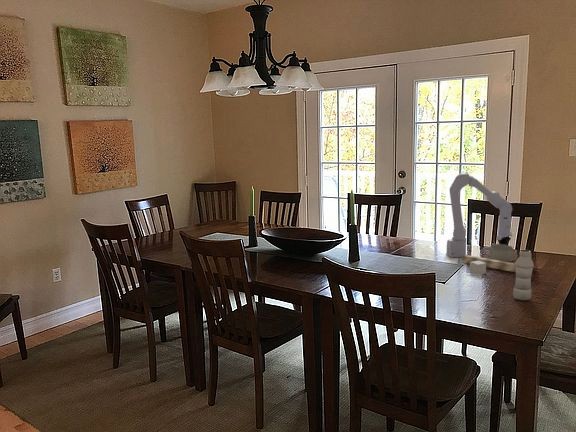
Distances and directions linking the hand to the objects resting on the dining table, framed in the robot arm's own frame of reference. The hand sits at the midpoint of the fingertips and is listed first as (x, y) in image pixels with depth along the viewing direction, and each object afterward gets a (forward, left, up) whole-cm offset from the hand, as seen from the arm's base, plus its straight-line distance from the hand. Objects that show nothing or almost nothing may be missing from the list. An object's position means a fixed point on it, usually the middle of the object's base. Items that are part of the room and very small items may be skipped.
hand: (503, 251), depth 247 cm
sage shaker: (+4, -16, -4) cm, 17 cm away
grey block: (-22, -22, -4) cm, 31 cm away
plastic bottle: (-19, -58, -4) cm, 61 cm away
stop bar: (-13, -13, -4) cm, 19 cm away
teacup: (-5, -5, -4) cm, 9 cm away
